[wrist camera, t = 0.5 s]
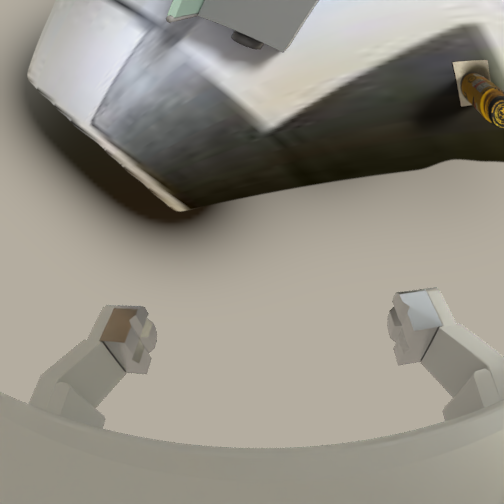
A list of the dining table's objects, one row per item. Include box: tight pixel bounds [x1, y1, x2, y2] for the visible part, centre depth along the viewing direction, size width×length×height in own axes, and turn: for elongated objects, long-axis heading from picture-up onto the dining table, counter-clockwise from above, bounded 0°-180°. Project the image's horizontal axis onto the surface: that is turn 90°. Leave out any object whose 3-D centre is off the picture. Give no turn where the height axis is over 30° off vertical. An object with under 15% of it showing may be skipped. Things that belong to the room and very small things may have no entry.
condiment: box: [453, 60, 504, 129], centre depth 29 cm, size 7×8×12 cm
